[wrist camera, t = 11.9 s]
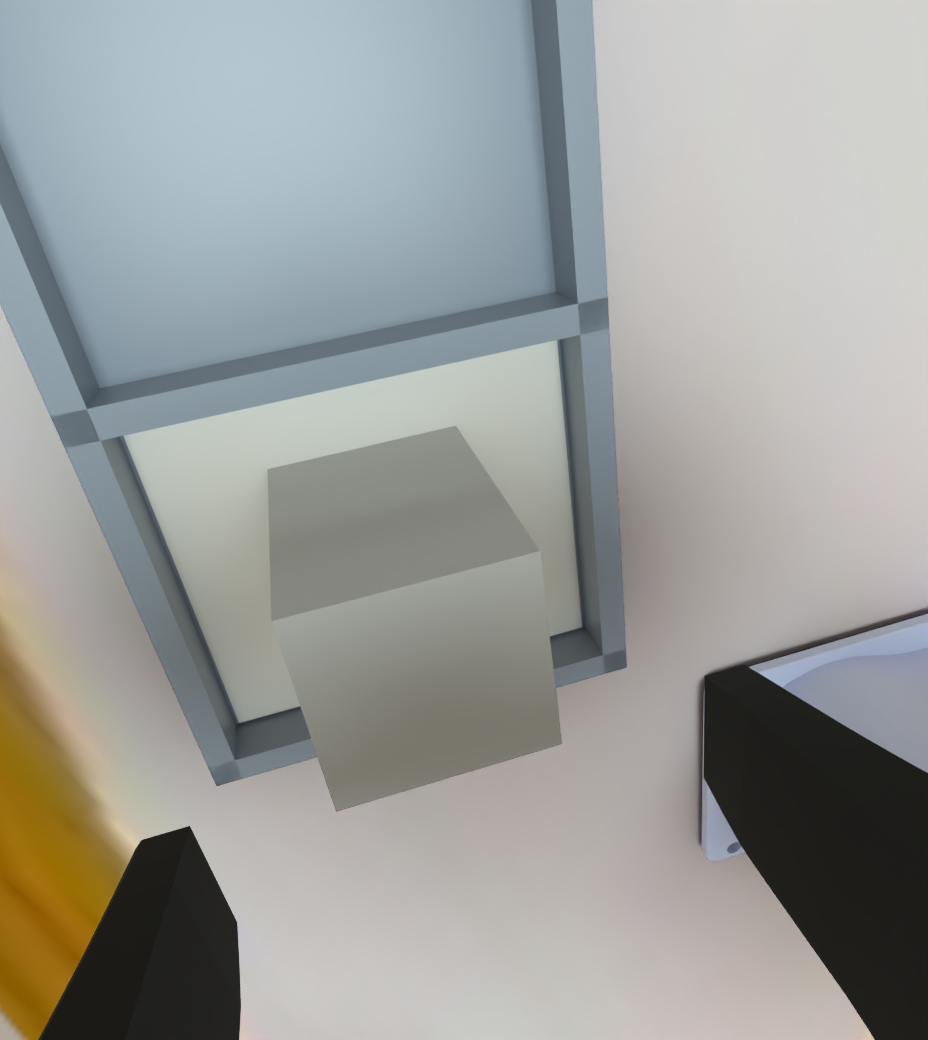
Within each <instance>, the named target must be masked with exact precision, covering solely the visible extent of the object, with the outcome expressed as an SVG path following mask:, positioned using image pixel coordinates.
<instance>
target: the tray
mask: <svg viewBox="0 0 928 1040" xmlns="http://www.w3.org/2000/svg"><path fill="white" fill-rule="evenodd" d="M0 305H1V307H2V309H3V312H4V314H5V316H6V318H7V321H8V323H9V325H10V327H11V329H12V332H13V334H14V336H15V338H16V341H17V343H18V345H19V347H20V349H21V352H22V354H23V356H24V358H25V361H26V363H27V365H28V367H29V369H30V372H31V374H32V376H33V378H34V381H35V383H36V385H37V387H38V390H39V392H40V394H41V396H42V398H43V401H44V403H45V405H46V407H47V410H48V412H49V414H50V416H51V418H52V421H53V423H54V425H55V427H56V430H57V432H58V434H59V436H60V439H61V441H62V443H63V445H64V447H65V450H66V452H67V454H68V456H69V459H70V461H71V463H72V465H73V467H74V470H75V472H76V474H77V476H78V479H79V481H80V483H81V485H82V487H83V490H84V492H85V494H86V496H87V499H88V501H89V503H90V505H91V508H92V510H93V512H94V514H95V516H96V519H97V521H98V523H99V525H100V528H101V530H102V532H103V534H104V536H105V539H106V541H107V543H108V545H109V548H110V550H111V552H112V554H113V556H114V559H115V561H116V563H117V565H118V568H119V570H120V572H121V574H122V577H123V579H124V581H125V583H126V585H127V588H128V590H129V592H130V594H131V597H132V599H133V601H134V603H135V605H136V608H137V610H138V612H139V614H140V617H141V619H142V621H143V623H144V626H145V628H146V630H147V632H148V634H149V637H150V639H151V641H152V643H153V646H154V648H155V650H156V652H157V654H158V657H159V659H160V661H161V663H162V666H163V668H164V670H165V672H166V674H167V677H168V679H169V681H170V683H171V686H172V688H173V690H174V692H175V695H176V697H177V699H178V701H179V703H180V706H181V708H182V710H183V712H184V715H185V717H186V719H187V721H188V723H189V726H190V728H191V730H192V732H193V735H194V737H195V739H196V741H197V743H198V746H199V748H200V750H201V752H202V755H203V757H204V759H205V761H206V764H207V766H208V768H209V770H210V772H211V775H212V777H213V779H214V781H215V784H216V786H219V785H222V784H226V783H229V782H233V781H236V780H239V779H243V778H246V777H250V776H253V775H257V774H260V773H264V772H267V771H270V770H274V769H277V768H281V767H284V766H288V765H291V764H295V763H298V762H302V761H305V760H308V759H312V758H315V757H317V754H316V751H315V748H314V745H313V742H312V739H311V736H310V733H309V730H308V727H307V724H306V721H305V719H304V716H303V713H302V710H301V707H300V704H299V701H298V698H297V695H296V692H295V689H294V686H293V683H292V680H291V678H290V675H289V672H288V669H287V666H286V663H285V660H284V657H283V654H282V651H281V648H280V645H279V642H278V639H277V637H276V634H275V631H274V628H273V625H272V622H271V590H270V550H269V510H268V470H267V469H271V468H275V467H279V466H284V465H288V464H292V463H297V462H301V461H305V460H310V459H314V458H318V457H323V456H327V455H331V454H336V453H340V452H344V451H348V450H353V449H357V448H361V447H366V446H370V445H374V444H379V443H383V442H387V441H392V440H396V439H400V438H405V437H409V436H413V435H417V434H422V433H426V432H430V431H435V430H439V429H443V428H448V427H452V426H456V427H457V428H458V430H459V431H460V433H461V434H462V436H463V437H464V439H465V440H466V442H467V443H468V445H469V446H470V448H471V449H472V451H473V452H474V454H475V455H476V457H477V458H478V460H479V461H480V463H481V464H482V466H483V467H484V469H485V470H486V472H487V473H488V475H489V476H490V477H491V479H492V480H493V482H494V483H495V485H496V486H497V488H498V489H499V491H500V492H501V494H502V495H503V497H504V498H505V500H506V501H507V503H508V504H509V506H510V507H511V509H512V510H513V512H514V513H515V515H516V516H517V518H518V519H519V521H520V522H521V524H522V525H523V527H524V528H525V530H526V531H527V532H528V534H529V535H530V537H531V538H532V540H533V541H534V543H535V544H536V546H537V547H538V549H539V550H540V555H541V564H542V573H543V581H544V590H545V599H546V608H547V617H548V625H549V634H550V643H551V652H552V661H553V670H554V678H555V687H556V688H557V687H560V686H564V685H567V684H571V683H574V682H578V681H581V680H585V679H588V678H592V677H595V676H598V675H602V674H605V673H609V672H612V671H616V670H619V669H623V668H626V667H627V662H626V643H625V624H624V604H623V585H622V566H621V547H620V527H619V508H618V489H617V470H616V451H615V431H614V412H613V393H612V374H611V354H610V335H609V316H608V297H607V277H606V258H605V239H604V220H603V200H602V181H601V162H600V143H599V123H598V104H597V85H596V66H595V46H594V27H593V8H592V0H0Z"/></svg>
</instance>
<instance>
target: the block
mask: <svg viewBox="0 0 928 1040" xmlns="http://www.w3.org/2000/svg"><path fill="white" fill-rule="evenodd" d="M267 470H268V510H269V550H270V590H271V622H272V625H273V628H274V631H275V634H276V637H277V639H278V642H279V645H280V648H281V651H282V654H283V657H284V660H285V663H286V666H287V669H288V672H289V675H290V678H291V680H292V683H293V686H294V689H295V692H296V695H297V698H298V701H299V704H300V707H301V710H302V713H303V716H304V719H305V721H306V724H307V727H308V730H309V733H310V736H311V739H312V742H313V745H314V748H315V751H316V754H317V757H318V760H319V762H320V765H321V768H322V771H323V774H324V777H325V780H326V783H327V786H328V789H329V792H330V795H331V798H332V801H333V804H334V806H335V809H336V812H337V811H340V810H343V809H347V808H350V807H353V806H357V805H360V804H363V803H367V802H370V801H373V800H377V799H380V798H383V797H387V796H390V795H393V794H397V793H400V792H403V791H407V790H410V789H413V788H417V787H420V786H423V785H427V784H430V783H433V782H437V781H440V780H443V779H447V778H450V777H453V776H457V775H460V774H463V773H467V772H470V771H473V770H477V769H480V768H483V767H487V766H490V765H493V764H497V763H500V762H503V761H507V760H510V759H513V758H517V757H520V756H523V755H527V754H530V753H533V752H537V751H540V750H543V749H547V748H550V747H553V746H557V745H560V744H562V740H561V731H560V723H559V714H558V705H557V696H556V687H555V678H554V670H553V661H552V652H551V643H550V634H549V625H548V617H547V608H546V599H545V590H544V581H543V573H542V564H541V555H540V550H539V549H538V547H537V546H536V544H535V543H534V541H533V540H532V538H531V537H530V535H529V534H528V532H527V531H526V530H525V528H524V527H523V525H522V524H521V522H520V521H519V519H518V518H517V516H516V515H515V513H514V512H513V510H512V509H511V507H510V506H509V504H508V503H507V501H506V500H505V498H504V497H503V495H502V494H501V492H500V491H499V489H498V488H497V486H496V485H495V483H494V482H493V480H492V479H491V477H490V476H489V475H488V473H487V472H486V470H485V469H484V467H483V466H482V464H481V463H480V461H479V460H478V458H477V457H476V455H475V454H474V452H473V451H472V449H471V448H470V446H469V445H468V443H467V442H466V440H465V439H464V437H463V436H462V434H461V433H460V431H459V430H458V428H457V427H456V426H452V427H448V428H443V429H439V430H435V431H430V432H426V433H422V434H417V435H413V436H409V437H405V438H400V439H396V440H392V441H387V442H383V443H379V444H374V445H370V446H366V447H361V448H357V449H353V450H348V451H344V452H340V453H336V454H331V455H327V456H323V457H318V458H314V459H310V460H305V461H301V462H297V463H292V464H288V465H284V466H279V467H275V468H271V469H267Z"/></svg>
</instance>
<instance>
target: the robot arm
mask: <svg viewBox="0 0 928 1040" xmlns="http://www.w3.org/2000/svg"><path fill="white" fill-rule="evenodd" d="M702 851H703V853H704V855H705V856H706V858H707V859H708V860H709V861H714V862H717V861H721V860H724V859H727V858H730V857H733V856H736V855H739V854H742V853H745V852H746V854H747V855H748V857H749V858H750V860H751V861H752V862H753V864H754V865H755V867H756V868H757V870H758V871H759V872H760V874H761V875H762V877H763V878H764V880H765V881H766V883H767V884H768V885H769V887H770V888H771V890H772V891H773V893H774V894H775V895H776V897H777V898H778V900H779V901H780V903H781V904H782V905H783V907H784V908H785V910H786V911H787V912H788V914H789V915H790V917H791V918H792V919H793V921H794V922H795V924H796V925H797V927H798V928H799V929H800V931H801V932H802V934H803V935H804V936H805V938H806V939H807V941H808V942H809V944H810V945H811V946H812V948H813V949H814V951H815V952H816V953H817V955H818V956H819V958H820V959H821V960H822V962H823V963H824V965H825V966H826V968H827V969H828V970H829V972H830V973H831V975H832V976H833V977H834V979H835V980H836V982H837V983H838V985H839V986H840V987H841V989H842V990H843V992H844V993H845V994H846V996H847V997H848V999H849V1000H850V1002H851V1003H852V1005H853V1006H854V1008H855V1010H856V1011H857V1013H858V1014H859V1016H860V1017H861V1019H862V1020H863V1022H864V1023H865V1025H866V1026H867V1028H868V1029H869V1031H870V1032H871V1034H872V1036H873V1037H874V1039H875V1040H928V614H925V615H922V616H918V617H915V618H911V619H908V620H905V621H901V622H898V623H895V624H891V625H888V626H885V627H881V628H878V629H874V630H871V631H868V632H864V633H861V634H858V635H854V636H851V637H847V638H844V639H841V640H837V641H834V642H831V643H827V644H824V645H821V646H817V647H814V648H810V649H807V650H804V651H800V652H797V653H794V654H790V655H787V656H783V657H780V658H777V659H773V660H770V661H767V662H763V663H760V664H756V665H753V666H750V667H747V666H746V665H741V666H737V667H734V668H731V669H727V670H724V671H720V672H717V673H713V674H710V675H707V676H705V690H704V709H703V779H702ZM240 1012H241V999H240V969H239V950H238V931H237V921H236V919H235V917H234V915H233V913H232V911H231V909H230V907H229V905H228V903H227V901H226V899H225V897H224V895H223V893H222V891H221V889H220V887H219V885H218V883H217V881H216V879H215V877H214V874H213V872H212V870H211V868H210V866H209V864H208V862H207V860H206V858H205V856H204V854H203V852H202V850H201V848H200V846H199V844H198V842H197V840H196V838H195V836H194V834H193V832H192V830H191V828H190V826H188V827H185V828H182V829H178V830H175V831H171V832H168V833H164V834H161V835H158V836H154V837H151V838H147V839H144V840H141V842H140V843H139V845H138V846H137V848H136V849H135V851H134V853H133V856H132V858H131V860H130V862H129V864H128V866H127V868H126V870H125V872H124V874H123V876H122V878H121V880H120V882H119V884H118V886H117V888H116V890H115V893H114V895H113V897H112V899H111V901H110V903H109V905H108V907H107V909H106V911H105V913H104V915H103V917H102V919H101V921H100V923H99V925H98V927H97V929H96V931H95V933H94V935H93V937H92V939H91V941H90V943H89V945H88V947H87V949H86V951H85V953H84V955H83V957H82V959H81V961H80V963H79V964H78V966H77V968H76V970H75V972H74V974H73V976H72V978H71V980H70V981H69V983H68V985H67V987H66V989H65V991H64V993H63V995H62V996H61V998H60V1000H59V1002H58V1004H57V1006H56V1008H55V1010H54V1012H53V1013H52V1015H51V1017H50V1019H49V1021H48V1023H47V1025H46V1027H45V1029H44V1030H43V1032H42V1034H41V1036H40V1038H39V1039H38V1040H239V1030H240Z"/></svg>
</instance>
